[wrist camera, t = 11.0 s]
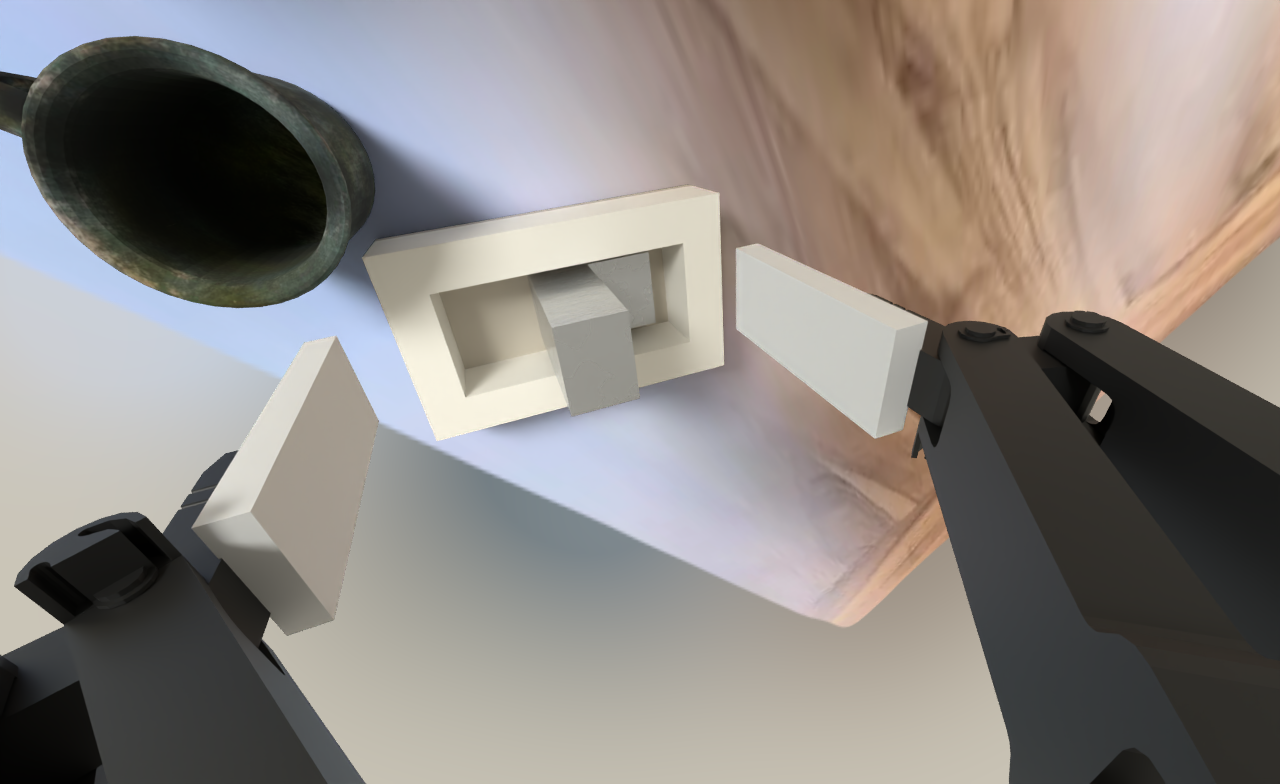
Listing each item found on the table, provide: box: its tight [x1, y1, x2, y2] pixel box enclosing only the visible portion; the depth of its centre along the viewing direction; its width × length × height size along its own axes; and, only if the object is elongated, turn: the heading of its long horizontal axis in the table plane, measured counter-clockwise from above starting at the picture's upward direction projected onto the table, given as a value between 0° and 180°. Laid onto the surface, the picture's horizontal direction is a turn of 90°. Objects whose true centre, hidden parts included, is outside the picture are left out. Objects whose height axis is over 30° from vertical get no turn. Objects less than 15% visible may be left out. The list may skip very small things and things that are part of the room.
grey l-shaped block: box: [527, 251, 656, 416], centre depth 35 cm, size 6×10×13 cm, turn 97°
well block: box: [362, 185, 724, 441], centre depth 38 cm, size 14×24×6 cm, turn 97°
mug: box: [0, 36, 375, 308], centre depth 25 cm, size 11×15×12 cm
